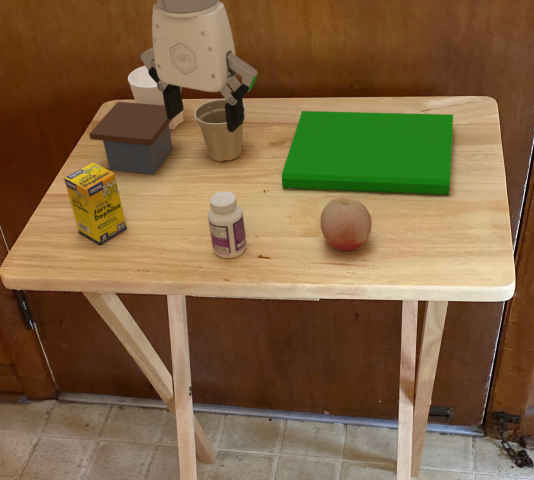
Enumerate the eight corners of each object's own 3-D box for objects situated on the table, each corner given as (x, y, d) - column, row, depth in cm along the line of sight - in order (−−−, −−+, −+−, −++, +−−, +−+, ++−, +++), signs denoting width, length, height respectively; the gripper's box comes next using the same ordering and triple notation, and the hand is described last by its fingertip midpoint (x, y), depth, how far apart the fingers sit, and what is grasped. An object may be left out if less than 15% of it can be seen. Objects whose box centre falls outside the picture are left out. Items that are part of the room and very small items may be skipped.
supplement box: (100, 246, 132) (85, 189, 125) (78, 233, 136) (62, 177, 128) (128, 229, 135) (115, 172, 128) (105, 216, 139) (91, 161, 131)
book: (302, 125, 157) (302, 110, 155) (451, 129, 152) (453, 114, 149) (282, 190, 141) (281, 175, 139) (448, 197, 135) (450, 181, 133)
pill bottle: (239, 235, 132) (232, 184, 125) (252, 252, 128) (246, 201, 122) (208, 245, 130) (200, 194, 124) (220, 263, 127) (212, 212, 120)
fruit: (373, 230, 130) (373, 188, 125) (369, 261, 124) (369, 218, 119) (323, 228, 132) (322, 186, 126) (317, 259, 126) (315, 216, 120)
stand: (158, 180, 146) (150, 139, 140) (98, 173, 149) (88, 133, 144) (183, 146, 154) (176, 106, 149) (126, 140, 158) (117, 101, 152)
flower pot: (209, 138, 156) (203, 96, 150) (256, 142, 153) (252, 100, 147) (193, 164, 149) (186, 122, 143) (242, 168, 147) (237, 125, 141)
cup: (192, 128, 159) (185, 81, 152) (142, 139, 157) (132, 91, 151) (181, 105, 166) (174, 59, 160) (133, 115, 165) (124, 69, 158)
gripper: (112, -3, 100) (137, 122, 112) (232, 14, 93) (246, 146, 105) (146, -25, 105) (168, 98, 116) (264, -10, 98) (274, 119, 109)
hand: (205, 120), depth 111 cm, fingers open, 9 cm apart
